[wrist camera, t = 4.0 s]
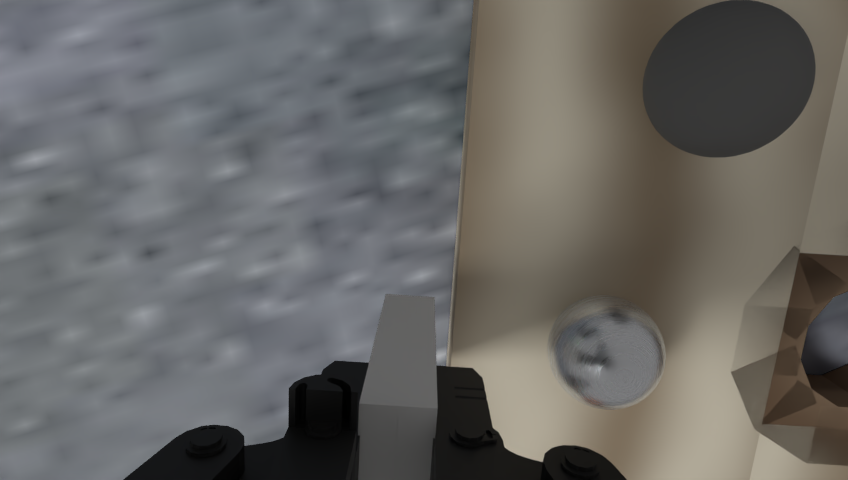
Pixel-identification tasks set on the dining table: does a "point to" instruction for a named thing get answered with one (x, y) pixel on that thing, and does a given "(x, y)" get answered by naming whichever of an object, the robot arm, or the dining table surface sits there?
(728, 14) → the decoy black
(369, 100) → the dining table surface
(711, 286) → the board
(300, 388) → the robot arm
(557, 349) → the steel ball
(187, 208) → the dining table surface
